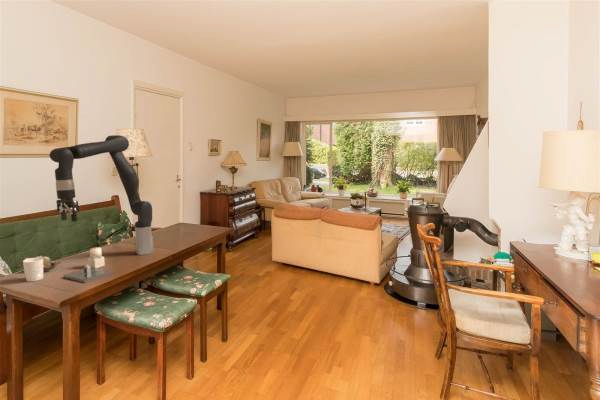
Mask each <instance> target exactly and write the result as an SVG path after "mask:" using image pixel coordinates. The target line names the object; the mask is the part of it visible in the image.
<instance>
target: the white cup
mask: <svg viewBox="0 0 600 400" xmlns="http://www.w3.org/2000/svg"><path fill="white" fill-rule="evenodd" d="M29 258H30V259H26V260H25V259H24V260H22V263H23V264H22V265H23V272H24V276H25V280H26V282H28V283H29V282H36V281H40V280H43V279H44V270H43V258H40V257H37V258H35V257H29Z"/></svg>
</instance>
